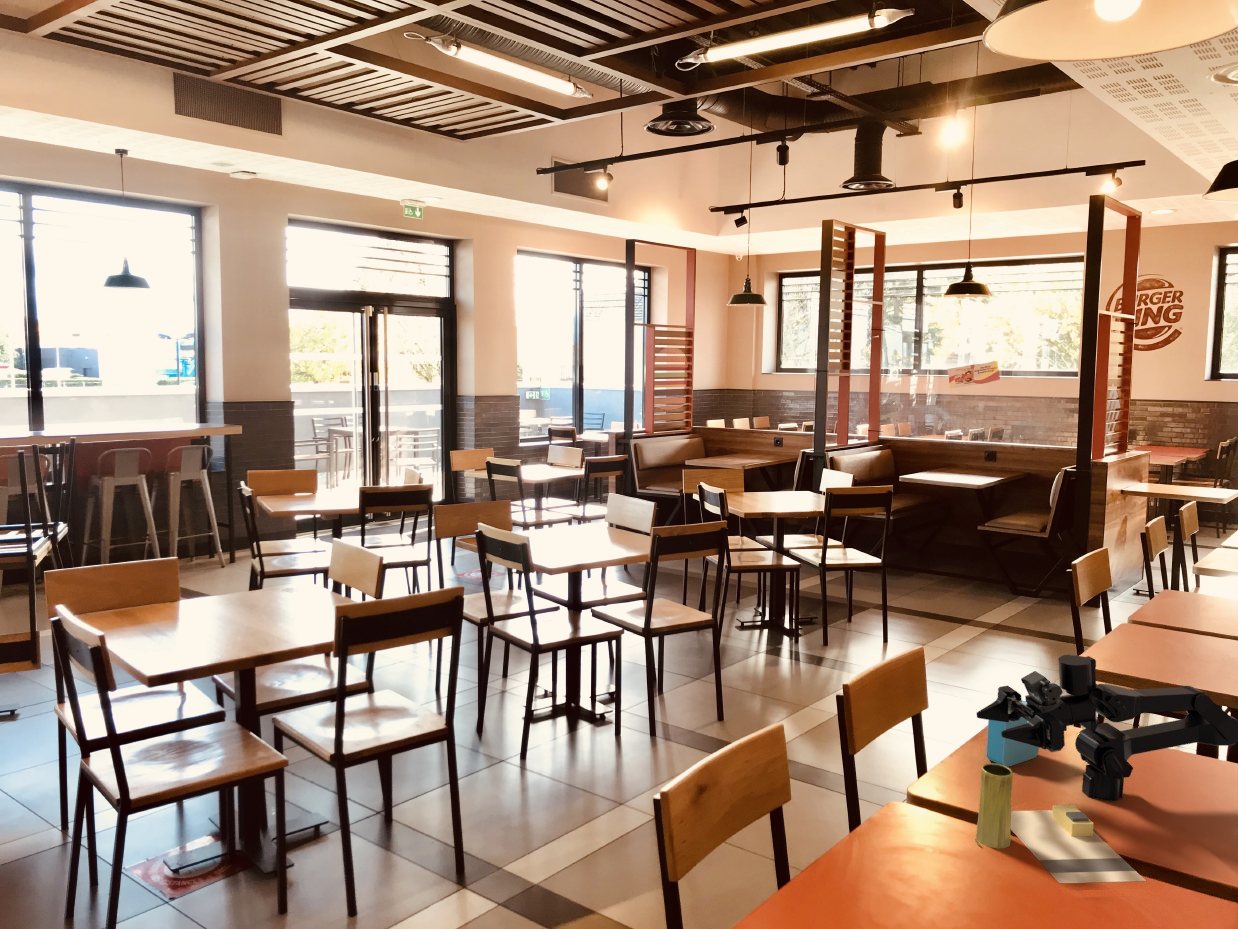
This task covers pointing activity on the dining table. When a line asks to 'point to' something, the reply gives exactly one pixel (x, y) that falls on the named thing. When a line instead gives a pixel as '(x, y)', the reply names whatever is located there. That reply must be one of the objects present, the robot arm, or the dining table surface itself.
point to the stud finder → (1073, 820)
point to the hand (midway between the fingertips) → (989, 724)
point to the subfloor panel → (1070, 851)
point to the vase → (995, 806)
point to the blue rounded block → (1007, 744)
